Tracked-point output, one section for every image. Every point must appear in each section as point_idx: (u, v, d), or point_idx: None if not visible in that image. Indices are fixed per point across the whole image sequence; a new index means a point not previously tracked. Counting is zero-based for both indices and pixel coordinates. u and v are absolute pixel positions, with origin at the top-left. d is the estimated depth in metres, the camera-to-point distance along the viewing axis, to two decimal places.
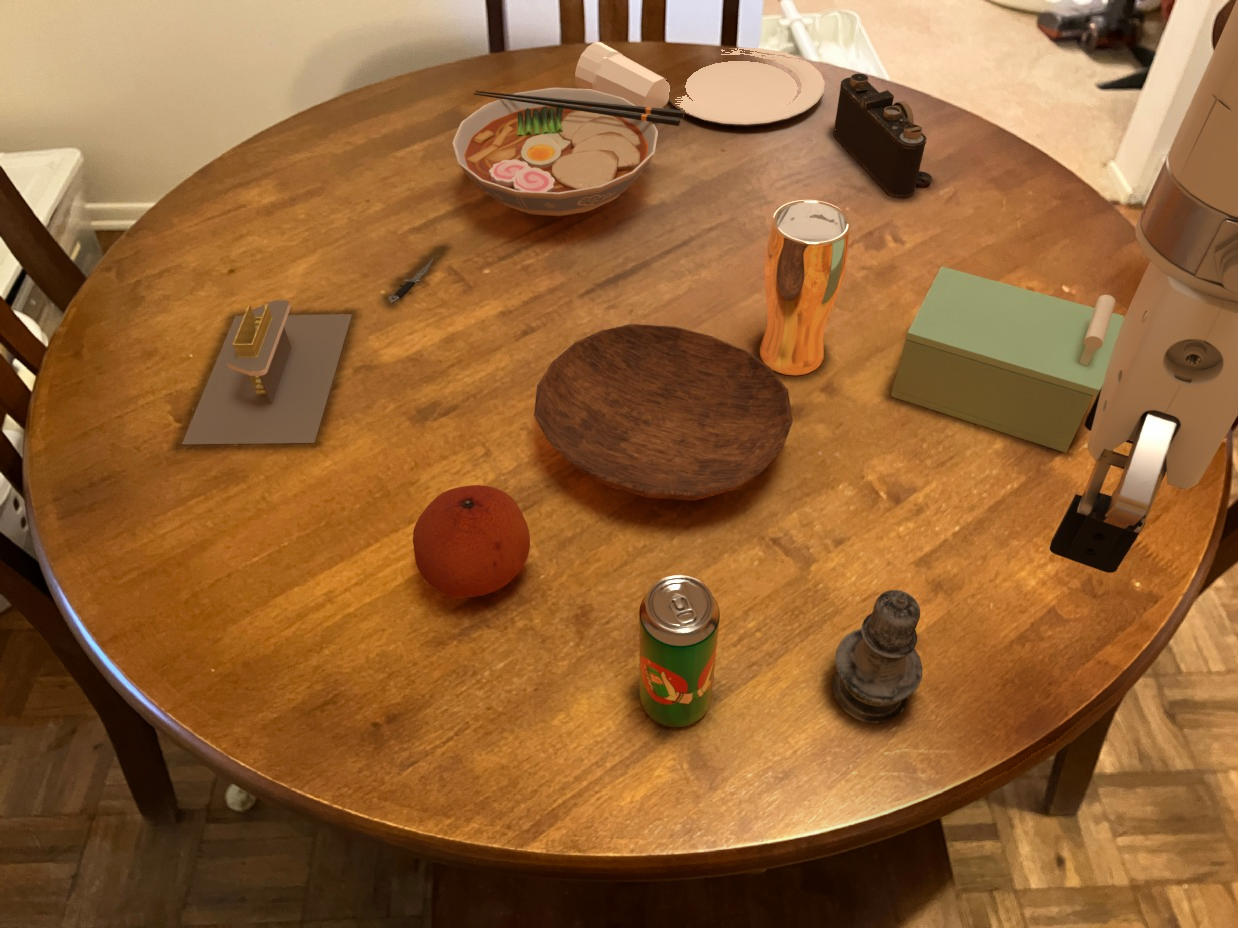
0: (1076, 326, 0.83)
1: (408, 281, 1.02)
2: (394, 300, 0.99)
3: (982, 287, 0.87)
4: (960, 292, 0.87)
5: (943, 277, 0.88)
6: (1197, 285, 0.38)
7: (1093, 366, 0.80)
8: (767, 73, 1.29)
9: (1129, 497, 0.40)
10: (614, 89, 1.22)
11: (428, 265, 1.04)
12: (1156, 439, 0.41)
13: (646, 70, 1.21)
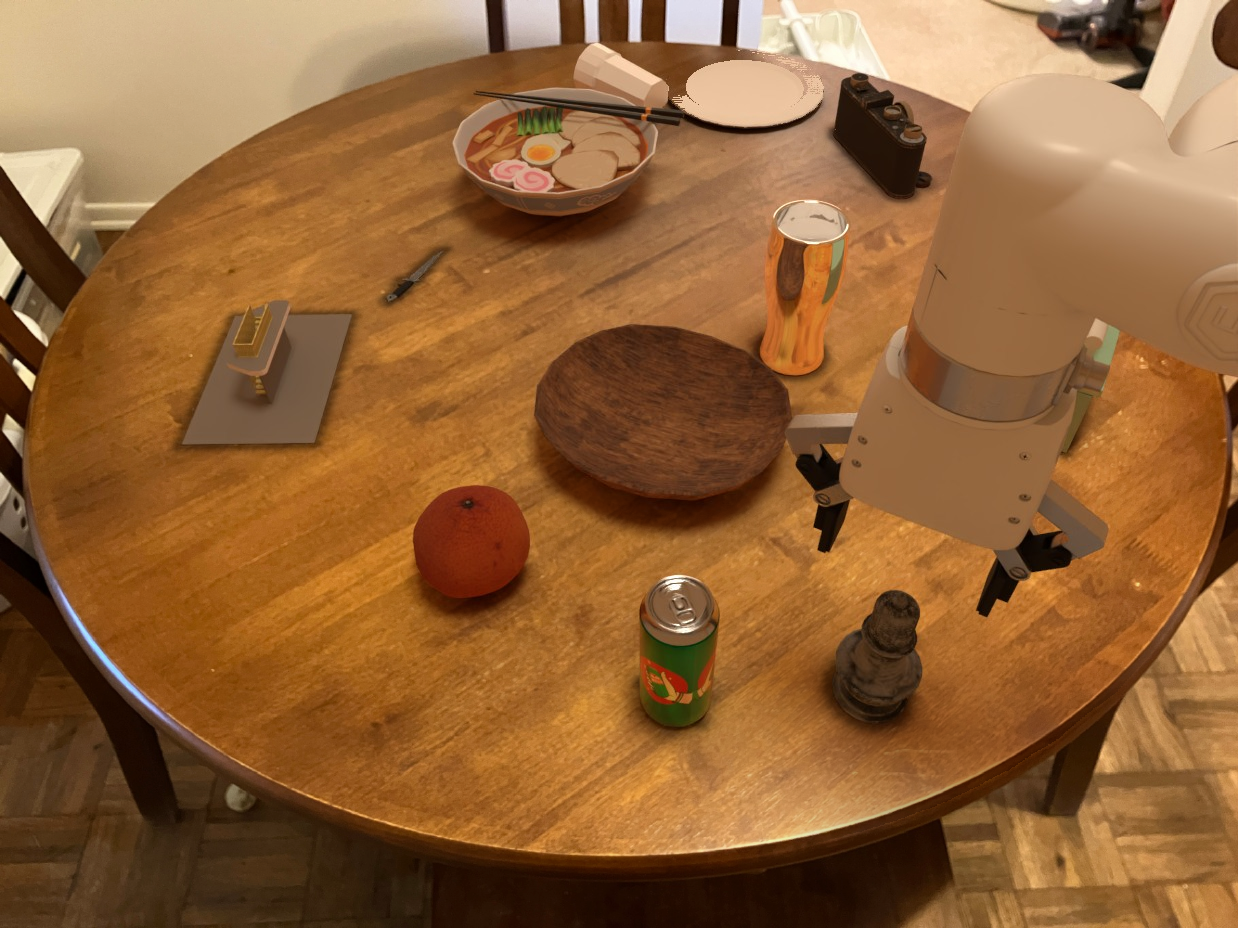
0: None
1: (407, 280, 1.02)
2: (392, 299, 1.00)
3: None
4: None
5: None
6: (1051, 409, 0.44)
7: None
8: (767, 76, 1.30)
9: (1102, 533, 0.49)
10: (613, 92, 1.22)
11: (428, 265, 1.04)
12: (1061, 496, 0.49)
13: (644, 72, 1.21)
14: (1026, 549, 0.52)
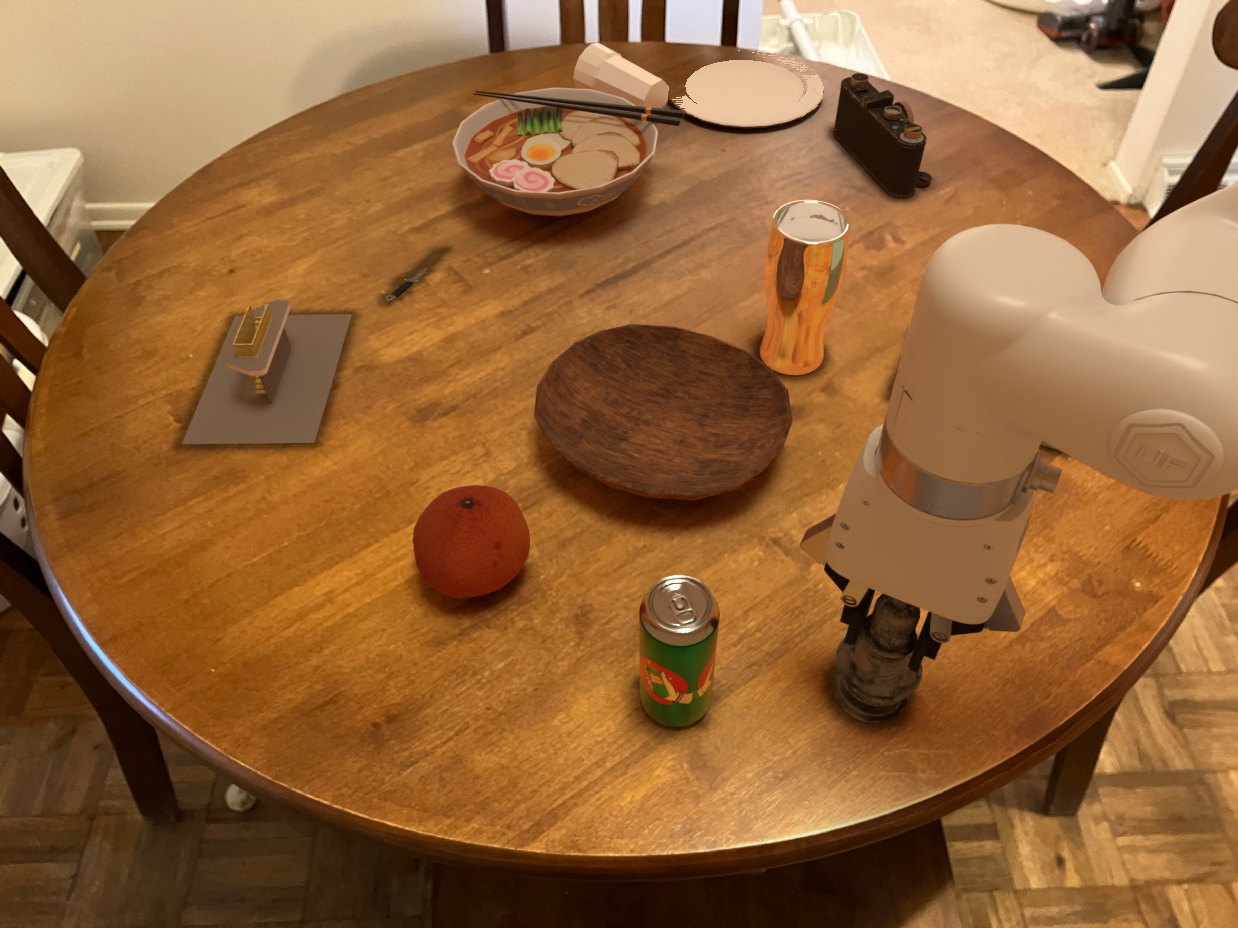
0: None
1: (407, 281, 1.02)
2: (390, 299, 1.00)
3: None
4: None
5: None
6: (1011, 506, 0.50)
7: None
8: (767, 76, 1.30)
9: (1021, 621, 0.56)
10: (613, 92, 1.22)
11: None
12: (1008, 584, 0.55)
13: (644, 72, 1.21)
14: None
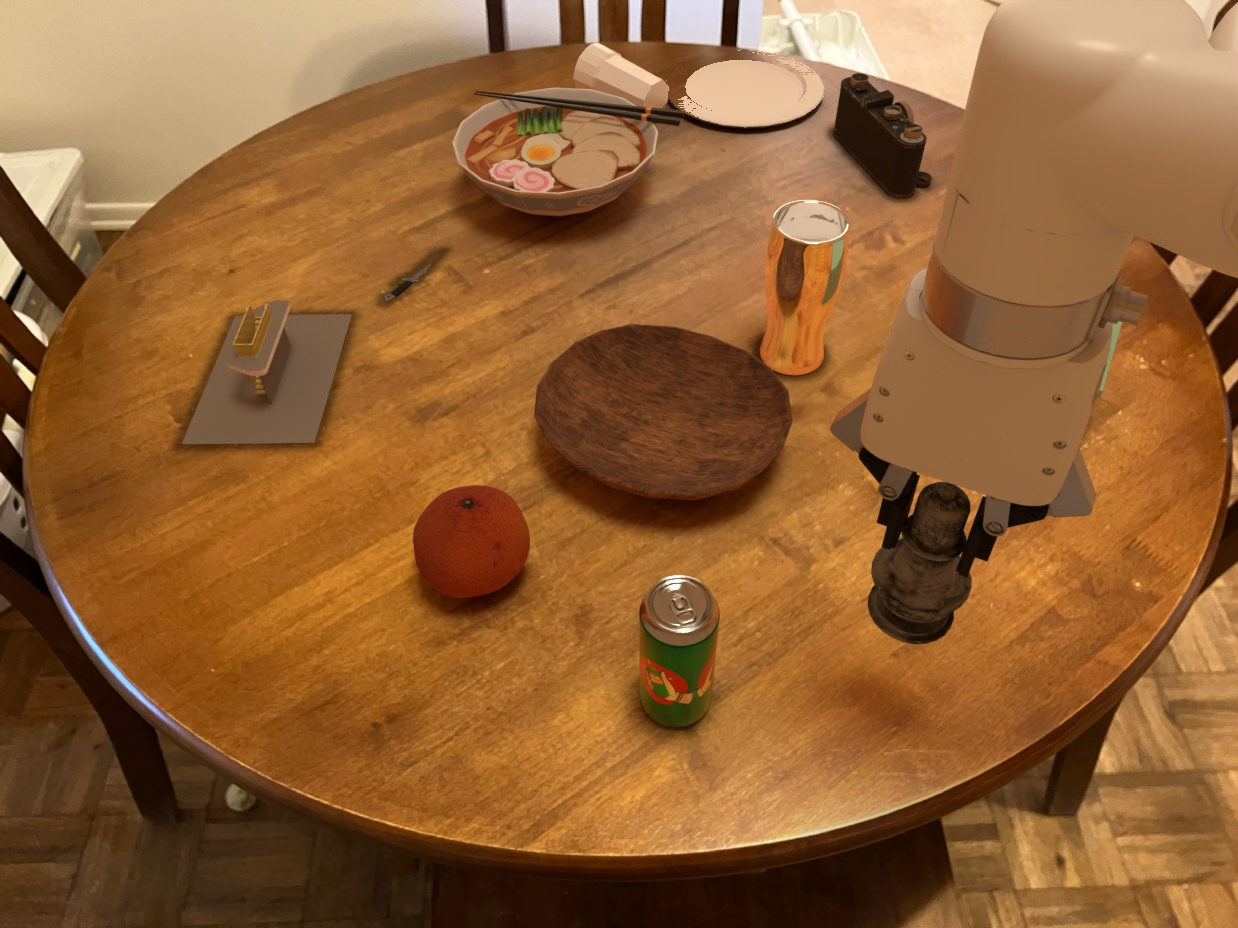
0: None
1: (406, 280, 1.02)
2: (389, 299, 1.00)
3: None
4: None
5: None
6: (1086, 346, 0.42)
7: None
8: (768, 76, 1.30)
9: (1092, 502, 0.48)
10: (613, 92, 1.22)
11: (428, 265, 1.04)
12: (1077, 457, 0.47)
13: (644, 72, 1.21)
14: None
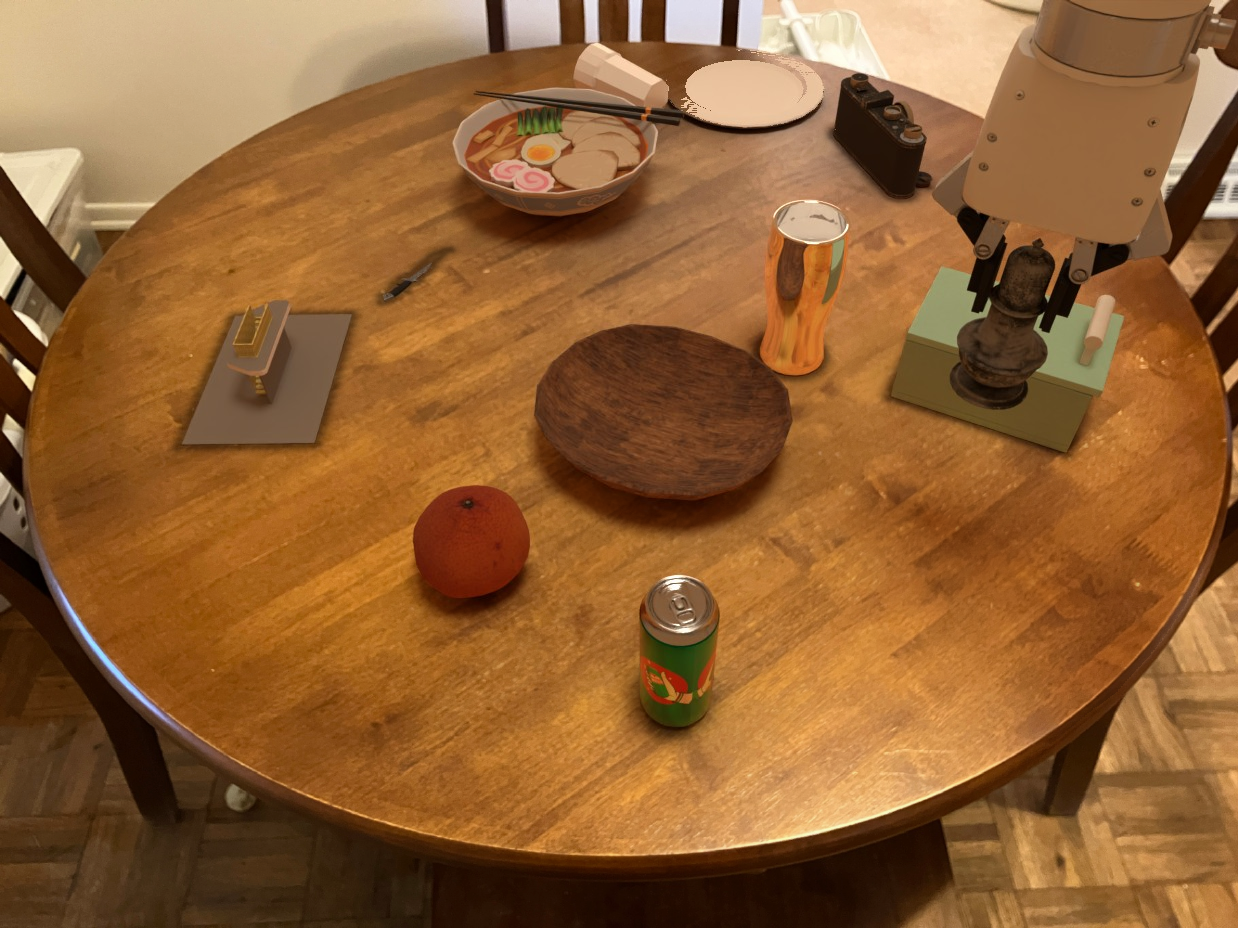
0: (1076, 326, 0.83)
1: (405, 280, 1.02)
2: (388, 298, 1.00)
3: None
4: (960, 292, 0.87)
5: (943, 277, 0.88)
6: (1179, 71, 0.48)
7: (1093, 366, 0.80)
8: (768, 76, 1.30)
9: (1170, 242, 0.55)
10: (613, 92, 1.22)
11: (428, 265, 1.04)
12: (1159, 196, 0.54)
13: (644, 72, 1.21)
14: None
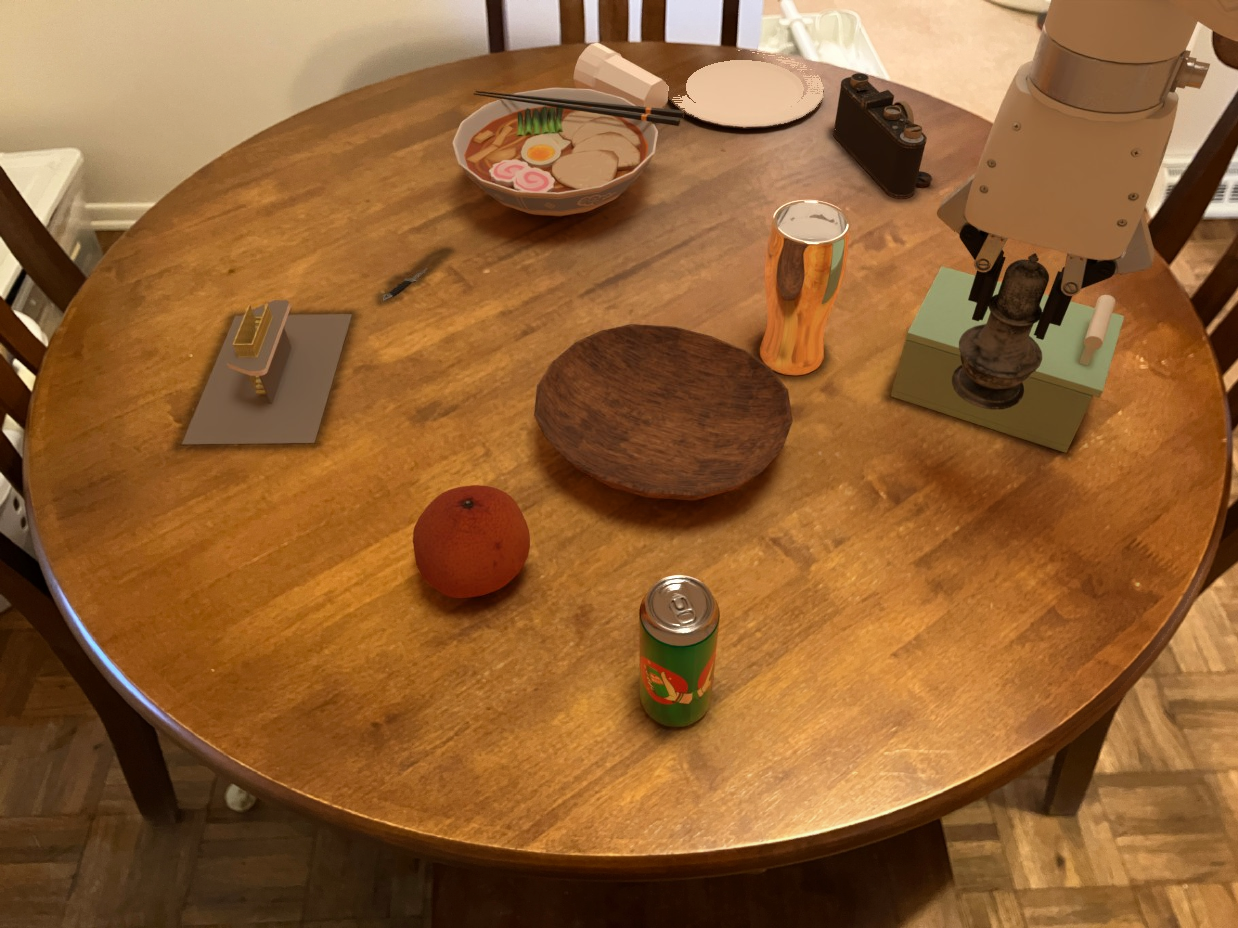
0: (1076, 326, 0.83)
1: (405, 280, 1.02)
2: (387, 298, 1.00)
3: None
4: (960, 292, 0.87)
5: (943, 277, 0.88)
6: (1159, 108, 0.54)
7: (1093, 366, 0.80)
8: (768, 76, 1.30)
9: (1152, 258, 0.61)
10: (613, 92, 1.22)
11: None
12: (1143, 217, 0.59)
13: (644, 72, 1.21)
14: None
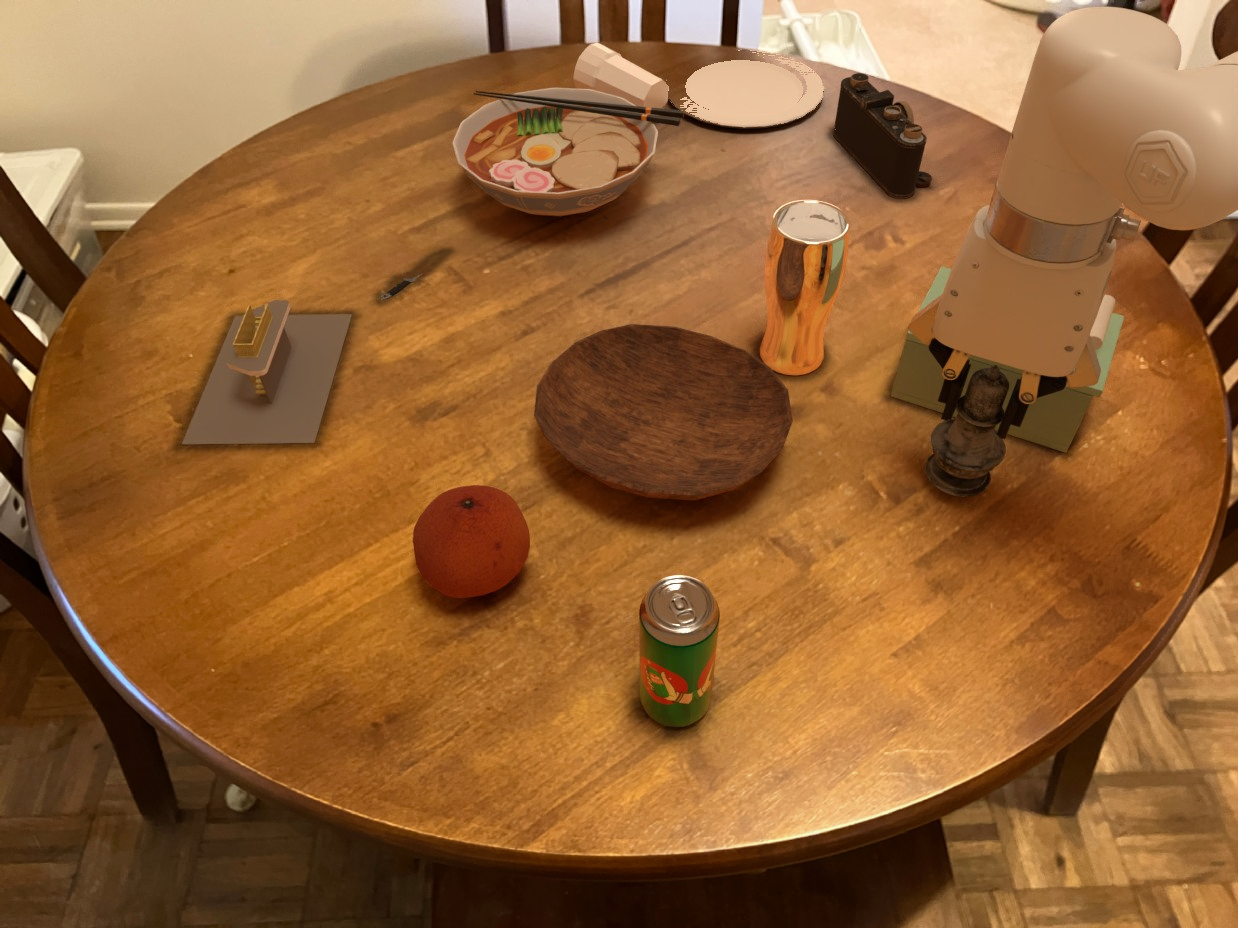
0: None
1: (405, 280, 1.02)
2: (386, 298, 1.00)
3: None
4: None
5: (943, 277, 0.88)
6: (1098, 255, 0.61)
7: None
8: (768, 76, 1.30)
9: (1098, 375, 0.68)
10: (613, 92, 1.22)
11: None
12: (1089, 341, 0.67)
13: (644, 72, 1.21)
14: None
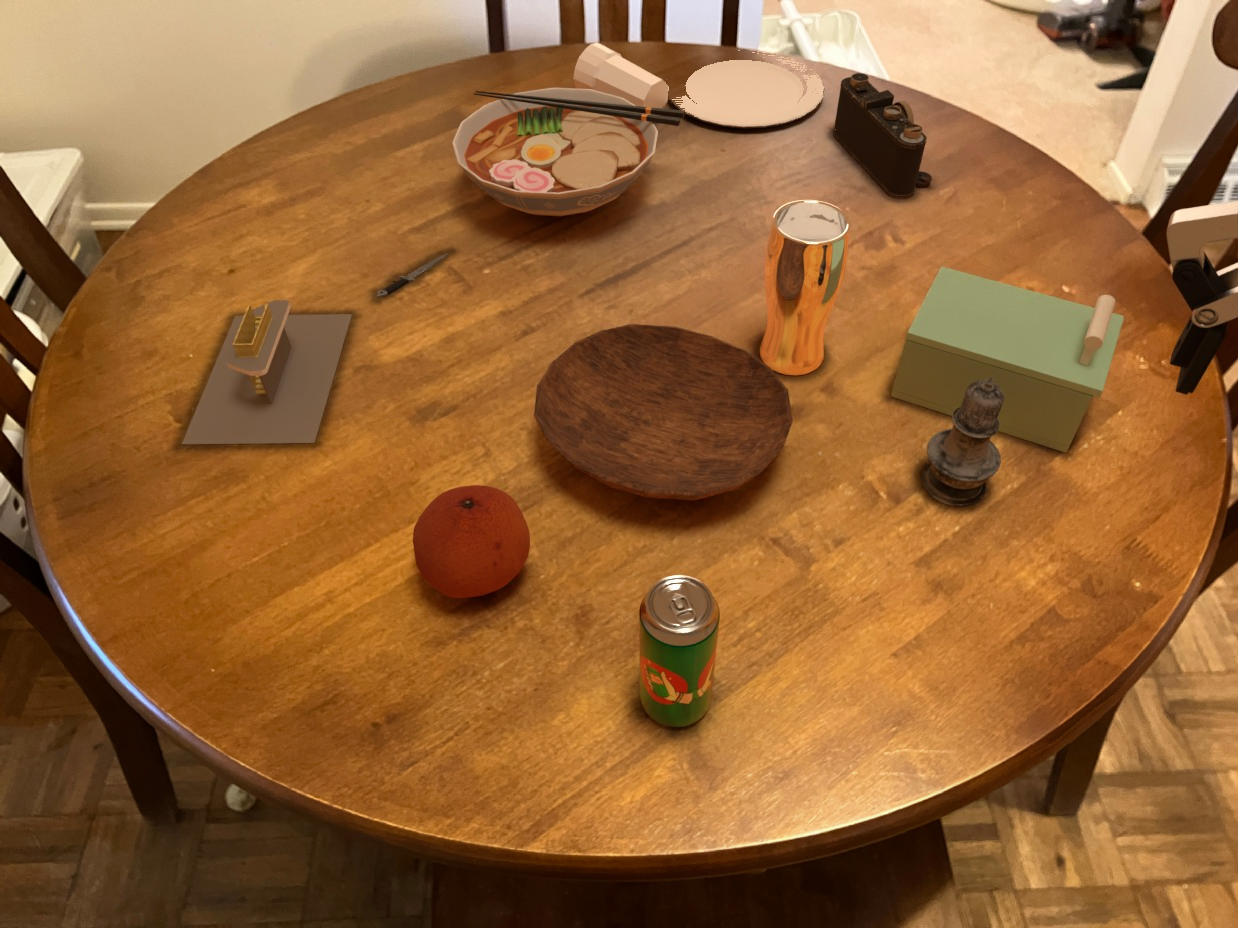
0: (1076, 326, 0.83)
1: (403, 278, 1.02)
2: (381, 294, 1.00)
3: (982, 287, 0.87)
4: (960, 292, 0.87)
5: (943, 277, 0.88)
6: None
7: (1093, 366, 0.80)
8: (768, 76, 1.30)
9: None
10: (613, 92, 1.22)
11: (429, 265, 1.03)
12: None
13: (644, 72, 1.21)
14: None
